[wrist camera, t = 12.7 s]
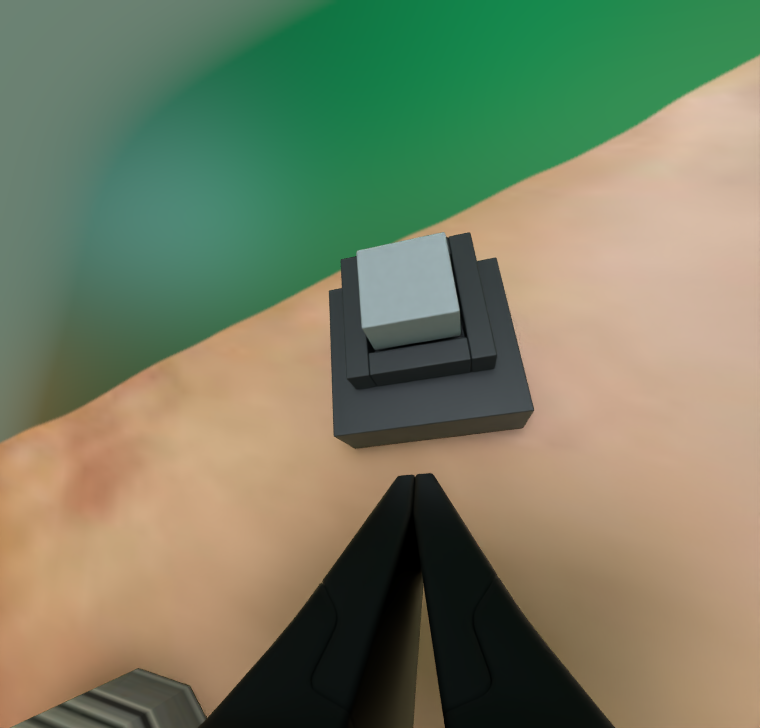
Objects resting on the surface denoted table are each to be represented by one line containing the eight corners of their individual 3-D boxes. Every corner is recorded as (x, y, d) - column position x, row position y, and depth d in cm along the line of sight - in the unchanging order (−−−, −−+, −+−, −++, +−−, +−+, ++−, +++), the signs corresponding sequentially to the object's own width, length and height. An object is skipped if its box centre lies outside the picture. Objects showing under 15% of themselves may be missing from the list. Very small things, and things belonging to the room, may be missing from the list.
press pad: (461, 336, 18) (459, 310, 16) (374, 350, 19) (361, 328, 17) (447, 263, 20) (444, 231, 18) (368, 279, 21) (355, 250, 19)
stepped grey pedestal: (523, 428, 21) (541, 400, 16) (354, 448, 23) (321, 429, 18) (490, 286, 25) (496, 225, 20) (347, 313, 27) (317, 263, 22)
